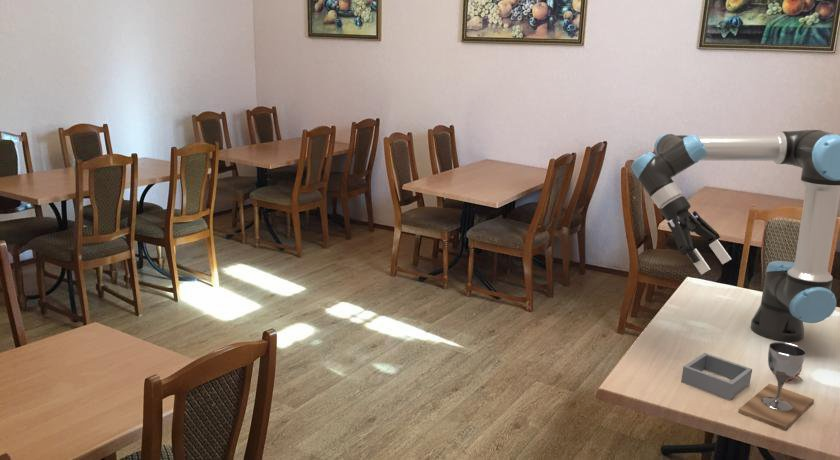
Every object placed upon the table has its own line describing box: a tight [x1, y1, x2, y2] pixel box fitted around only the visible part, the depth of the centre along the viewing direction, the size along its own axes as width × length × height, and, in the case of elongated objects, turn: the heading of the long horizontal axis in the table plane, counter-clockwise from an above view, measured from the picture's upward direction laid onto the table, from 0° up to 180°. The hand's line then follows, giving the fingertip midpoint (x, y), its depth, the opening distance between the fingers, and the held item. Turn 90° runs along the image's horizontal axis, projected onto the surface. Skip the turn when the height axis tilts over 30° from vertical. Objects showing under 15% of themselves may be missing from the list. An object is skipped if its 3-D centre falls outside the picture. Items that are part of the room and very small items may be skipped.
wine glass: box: [761, 341, 806, 411], centre depth 174 cm, size 8×8×15 cm
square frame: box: [680, 352, 753, 401], centre depth 187 cm, size 13×13×4 cm
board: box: [737, 383, 815, 431], centre depth 176 cm, size 20×11×1 cm, turn 134°
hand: (716, 266), depth 190 cm, fingers open, 13 cm apart
